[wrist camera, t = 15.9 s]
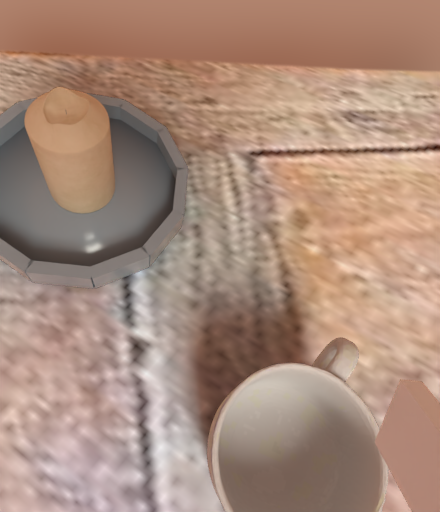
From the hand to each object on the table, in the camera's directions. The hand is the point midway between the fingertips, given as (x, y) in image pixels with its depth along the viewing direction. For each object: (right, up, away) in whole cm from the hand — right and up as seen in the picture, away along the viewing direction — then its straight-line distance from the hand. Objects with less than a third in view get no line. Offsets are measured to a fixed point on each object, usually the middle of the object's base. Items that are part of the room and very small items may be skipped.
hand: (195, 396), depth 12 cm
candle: (-11, +10, +22) cm, 27 cm away
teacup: (+5, -9, +19) cm, 22 cm away
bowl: (-11, +10, +23) cm, 28 cm away
